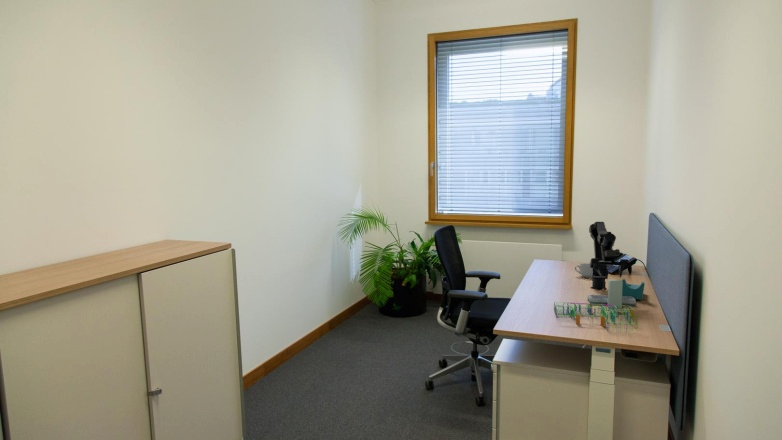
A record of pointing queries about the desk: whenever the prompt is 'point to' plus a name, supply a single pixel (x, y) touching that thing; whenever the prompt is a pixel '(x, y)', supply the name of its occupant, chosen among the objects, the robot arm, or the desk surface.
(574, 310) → the house model
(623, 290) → the teal curved piece
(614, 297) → the door panel
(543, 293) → the desk surface
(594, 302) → the door track
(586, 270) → the teacup
